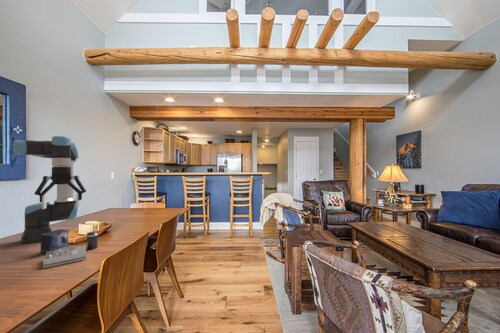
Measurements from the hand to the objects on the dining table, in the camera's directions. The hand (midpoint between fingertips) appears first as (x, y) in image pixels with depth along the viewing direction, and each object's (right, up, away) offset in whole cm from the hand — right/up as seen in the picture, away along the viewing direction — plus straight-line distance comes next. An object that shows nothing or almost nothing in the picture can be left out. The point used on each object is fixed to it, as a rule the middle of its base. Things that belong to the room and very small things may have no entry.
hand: (61, 207), depth 112 cm
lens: (+5, -26, +15) cm, 31 cm away
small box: (-14, -27, +11) cm, 32 cm away
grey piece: (+3, -26, -1) cm, 27 cm away
